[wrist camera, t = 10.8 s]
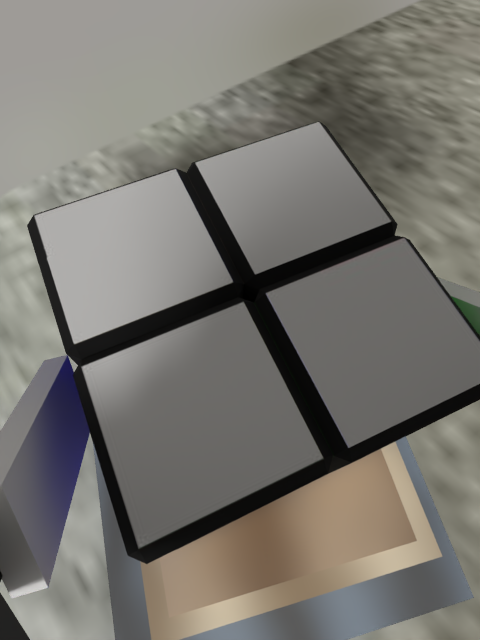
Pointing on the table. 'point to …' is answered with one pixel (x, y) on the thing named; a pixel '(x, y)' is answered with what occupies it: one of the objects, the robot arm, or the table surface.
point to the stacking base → (296, 563)
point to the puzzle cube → (246, 332)
